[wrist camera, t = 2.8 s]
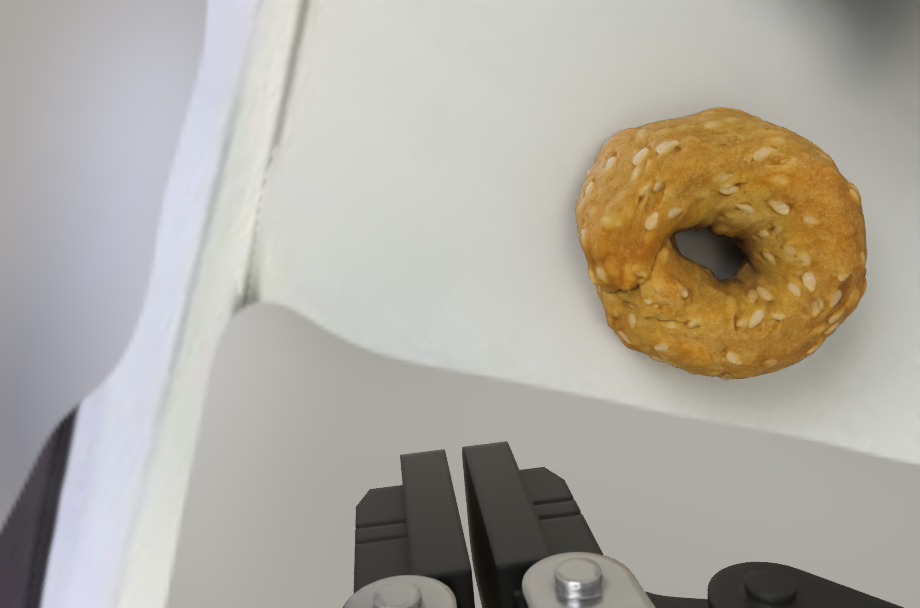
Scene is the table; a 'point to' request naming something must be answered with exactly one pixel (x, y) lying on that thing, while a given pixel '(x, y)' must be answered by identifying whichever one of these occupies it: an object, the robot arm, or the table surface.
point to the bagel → (731, 214)
